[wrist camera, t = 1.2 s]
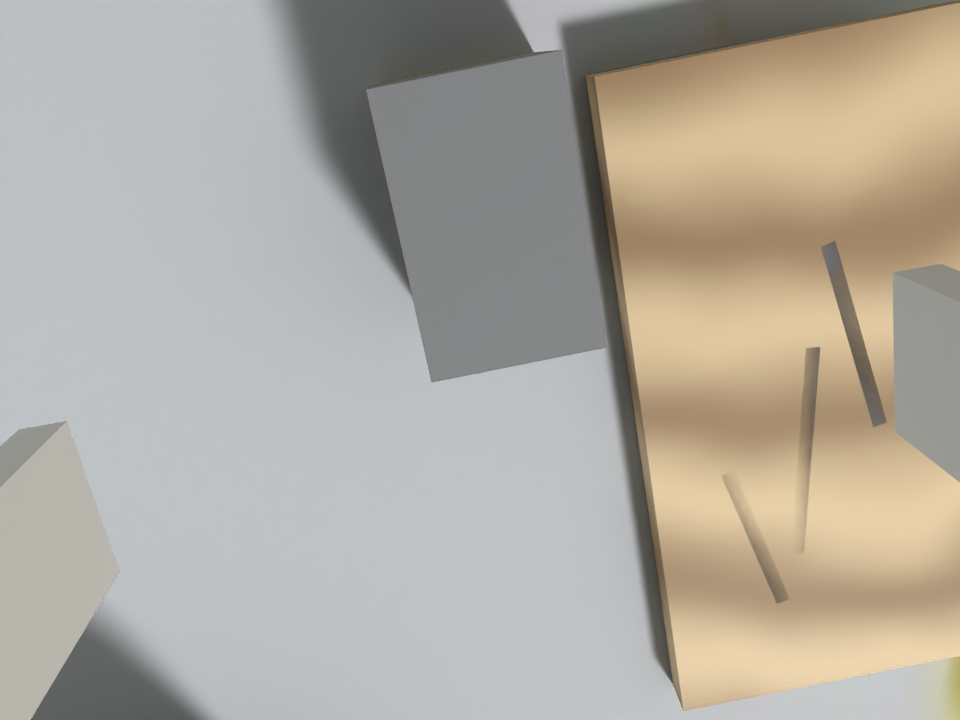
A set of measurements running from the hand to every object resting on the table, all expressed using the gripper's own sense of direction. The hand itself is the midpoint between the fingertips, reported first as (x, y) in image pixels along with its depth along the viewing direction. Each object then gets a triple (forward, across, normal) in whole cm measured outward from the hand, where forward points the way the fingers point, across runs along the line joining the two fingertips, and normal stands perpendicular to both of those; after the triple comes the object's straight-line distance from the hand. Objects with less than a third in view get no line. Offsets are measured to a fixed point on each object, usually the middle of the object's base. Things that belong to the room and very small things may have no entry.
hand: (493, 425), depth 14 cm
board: (+16, +11, -8) cm, 21 cm away
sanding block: (+16, +1, +1) cm, 16 cm away
